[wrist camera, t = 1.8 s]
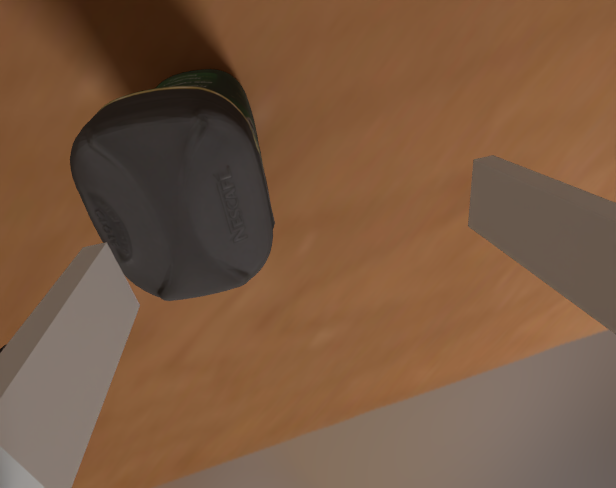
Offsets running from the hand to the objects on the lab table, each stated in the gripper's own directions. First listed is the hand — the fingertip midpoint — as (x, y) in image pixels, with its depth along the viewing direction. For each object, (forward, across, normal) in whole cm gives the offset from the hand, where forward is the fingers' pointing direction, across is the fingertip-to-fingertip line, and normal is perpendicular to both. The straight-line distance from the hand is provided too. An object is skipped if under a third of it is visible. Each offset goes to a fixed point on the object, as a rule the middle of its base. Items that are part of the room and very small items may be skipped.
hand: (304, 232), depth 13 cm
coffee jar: (+21, -5, 0) cm, 22 cm away
